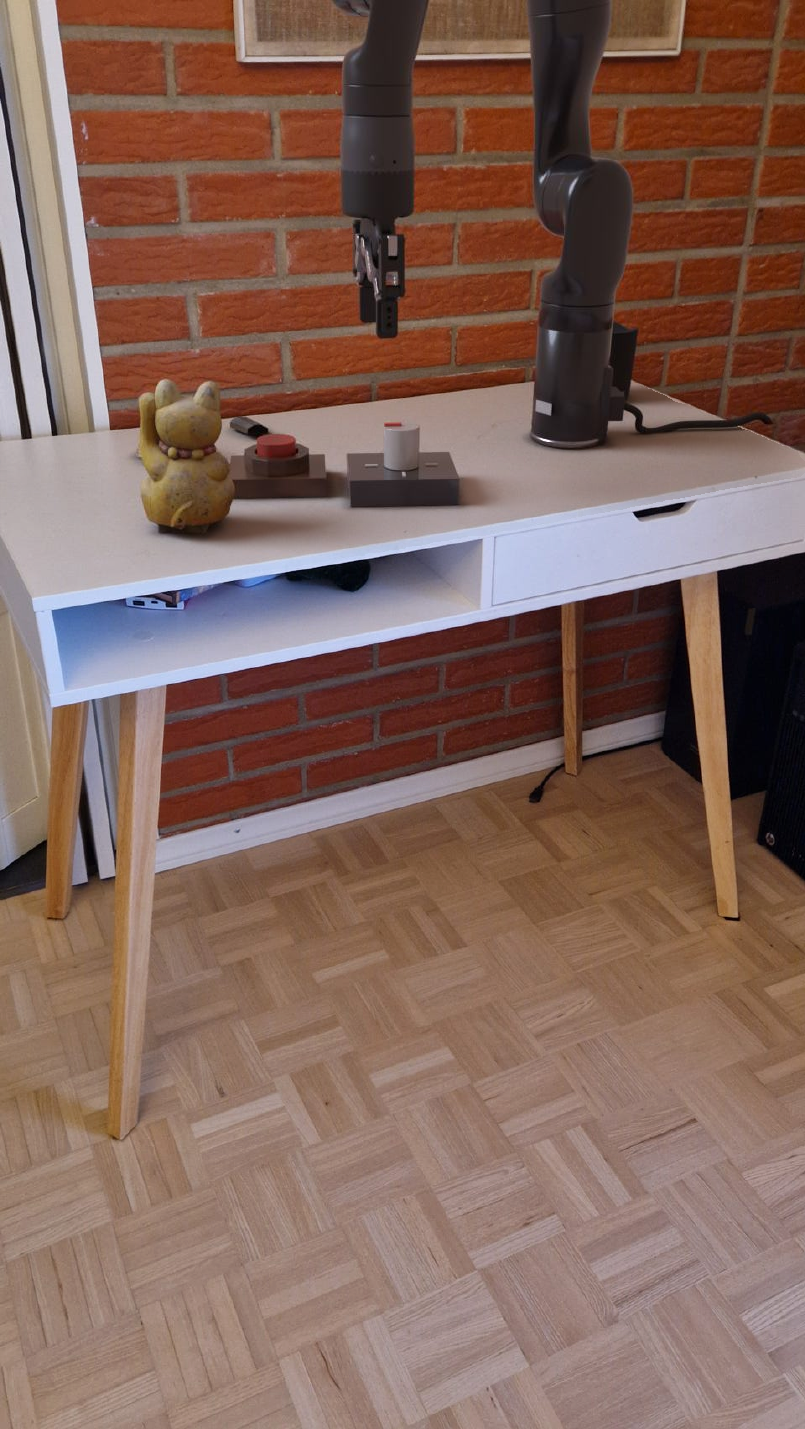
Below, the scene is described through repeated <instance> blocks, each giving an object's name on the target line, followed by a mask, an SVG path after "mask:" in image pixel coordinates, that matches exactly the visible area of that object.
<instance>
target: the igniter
mask: <svg viewBox="0 0 805 1429" xmlns="http://www.w3.org/2000/svg"><path fill="white" fill-rule="evenodd" d="M229 458H230V459H229V464H230V472H229V474H228V476H229V477H230V478H231V479H232V481H233V483H234V489H235V491H234V498H233V499H277V498H279V499H280V498H327V496H328V488H327V486H328V485H327V469H326V467H327V466H326V454H323V453H313V454H312V453H311V454H310V448H309V447H307V446H305V445H303V444H301V443H297V442H296V454H295V455H293V456H288V457H283V458H269V457H263V456H259V455H257V443H255V444H252V445H250V446H249V447H247V448H244V451H243V455H242V454H241V455H239V454H238V455H230V457H229Z"/></svg>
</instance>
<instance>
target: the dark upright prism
mask: <svg viewBox="0 0 805 1429" xmlns="http://www.w3.org/2000/svg"><path fill="white" fill-rule="evenodd" d="M639 328H640V327H634V328H631V329H630V328H627V327H626V326H624V325H622V324H621V323H619V322H617V321H615V320H613V329H612V340H611V350H610V362H609V365H610V366H611V367H612V368H613V379H612V387H616V388H617V389H618V390H619V391H620V392H621V393H622V394H623V395H624V396H625V401H626V400H627V399H628V398H629V396H630V392H631V385H632V379H633V372H634V364H635V357H636V349H637V344H638V336H639Z"/></svg>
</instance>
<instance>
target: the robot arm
mask: <svg viewBox="0 0 805 1429" xmlns="http://www.w3.org/2000/svg"><path fill="white" fill-rule="evenodd" d="M612 1H613V0H525V6H526V7H525V9H526V21H527V30H528V39H529V51H530V52H529V54H530V70H531V71H530V73H531V87H532V88H531V89H532V104H533V157H532V158H533V160H532V161H533V162H532V164H533V165H532V198H533V205H534V211H535V215H536V216H537V219H538V221H539V223H540V225H541V226H542V227H543V229H544V230H545V231H546V232H548V233H549V234H552V235H553V236H556V237H559V238H562V247H561V254H560V260H559V262H558V263H557V265H556V267H555V268H554V269H552V270H550V271H548V272H546V273H545V274H544V275H543V276H542V277H541V280H540V286H539V300H538V301H539V302H538V317H537V333H536V334H537V335H536V347H535V348H536V349H535V363H534V364H535V365H534V381H533V395H532V411H531V412H532V413H531V421H530V422H531V424H530V425H531V426H530V427H531V428H530V429H529V430H530V431H529V432H530V433H529V437H530V439H531V440H532V441H533V442H535V443H538V444H540V445H543V446H547V447H553V448H560V449H582V448H590V447H594V446H598V445H607V440H608V432H609V431H608V430H609V422H623V421H624V412H628V413H631V414H632V415H633V416H634V417H635V421H634V428H635V430H636V431H637V432H638V433H639V434H641V435H651V434H652V435H653V434H663V433H668V432H669V433H670V432H673V431H678V430H683V429H722V428H723V429H724V428H725V429H726V428H736V427H741V426H743V425H746V424H749V423H751V422H753V421H760V422H762V423H763V424H764V425H767V426H770V425H771V426H772V425H774V422H773V420H772V419H771V417H770V416H769V415H767V414H766V413H764V412H760V411H756V412H752V413H749V414H747V415H745V416H742V417H738V418H734V419H715V420H714V419H711V420H709V419H705V420H703V419H702V420H701V419H700V420H697V419H695V420H680V421H675V422H671V423H667V424H663V425H660V426H655V427H647V426H644V425H643V422H644V413H643V412H642V411H641V409H639V408H638V407H637V406H635V405H633V404H631V403H628V402H627V401H626V400H625V396H624V395H623V394H622V393H621V392H620V391H619V390H618V389H617V388H616V387H612V379H613V368H612V367H611V366H610V365H609V362H610V350H611V340H612V329H613V321H614V317H615V305H616V298H617V297H616V296H617V290H618V287H619V285H620V283H621V281H622V279H623V276H624V273H625V270H626V265H627V258H628V252H629V245H630V244H629V243H630V236H631V230H632V223H633V214H634V198H635V197H634V187H633V183H632V182H633V181H632V179H631V176H630V174H629V172H628V170H627V168H626V167H625V166H624V165H623V164H622V163H620V162H619V161H616V160H614V159H611V158H608V157H602V156H601V157H600V156H593V150H592V141H591V122H590V110H591V108H590V107H591V98H592V92H593V88H594V85H595V82H596V78H597V75H598V71H599V69H600V66H601V63H602V59H603V57H604V54H605V50H606V48H607V45H608V39H609V36H610V32H611V26H612V15H613V14H612V12H613V6H612V4H613V3H612ZM331 2H332V4H333V5H334V6H335V7H336V8H337V9H338V10H339V11H340V12H342V13H343V14H345V15H348V16H350V17H356V18H368V22H367V27H366V32H365V36H364V40H363V42H362V43H361V44H359V45H357V46H356V47H353V48H351V49H350V50H349V51H347V52H346V53H345V55H344V57H343V59H342V67H341V102H342V103H341V106H342V107H341V110H342V111H341V113H342V116H341V117H342V119H341V131H340V138H339V139H340V141H339V142H340V145H339V146H340V148H339V150H340V198H341V199H340V209H341V212H342V214H343V215H344V216H346V217H349V218H355V219H353V221H352V260H353V261H352V271H351V272H352V274H353V277H354V278H355V282H356V285H357V286H358V319H359V321H360V322H361V323H363V324H373V323H375V335H376V336H377V337H378V338H379V339H396V338H397V337H398V334H399V301H401V298H404V297H405V296H406V285H405V284H406V266H405V265H406V261H405V260H406V258H405V257H406V256H405V254H406V253H405V251H406V248H405V246H406V238H405V235H404V233H397V231H396V220H397V219H398V218H399V219H400V218H401V219H404V218H408V217H410V216H412V215H413V213H414V211H415V172H416V170H415V169H416V168H415V164H416V162H415V160H416V158H415V156H416V138H415V129H414V116H413V114H414V112H413V110H414V66H415V63H416V59H417V55H418V52H419V48H420V44H421V39H422V34H423V30H424V25H425V21H426V17H427V12H428V8H429V3H430V0H331ZM387 282H390V283H391V284H387ZM755 614H756V607H753V608H751V607H748V610H747V615H746V623H745V629H744V634H745V635H746V636H751V635H753V634H752V633H753V627H754V620H755Z"/></svg>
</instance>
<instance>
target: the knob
mask: <svg viewBox="0 0 805 1429" xmlns="http://www.w3.org/2000/svg"><path fill="white" fill-rule="evenodd" d="M420 438H421V426H420V424H419V423H418V422H414V421H409V420H394V421H393V420H392V421H388V422H383V453H384V466H385V467H386V468H388V469H391V470H399V471H405V470H412V469H416V468H418V467H419V452H420V445H421V444H420V442H421V439H420Z"/></svg>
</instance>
